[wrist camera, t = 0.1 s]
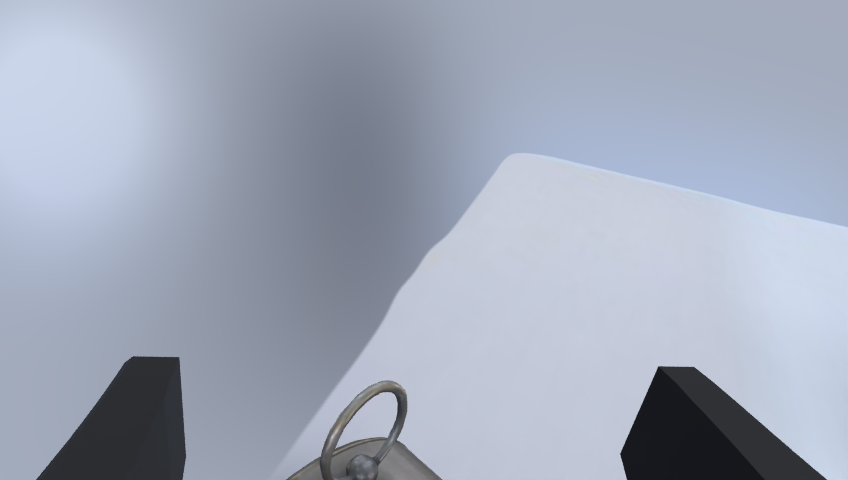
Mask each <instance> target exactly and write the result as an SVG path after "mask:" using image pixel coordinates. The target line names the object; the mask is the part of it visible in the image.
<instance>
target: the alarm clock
mask: <svg viewBox="0 0 848 480" xmlns="http://www.w3.org/2000/svg"><path fill="white" fill-rule="evenodd" d="M382 392H392V393H394V394H395V396H396V398H397V402H398V411H397V417H396V421H395V423H394V426H393V428H392V430H391V432H390V434H389V436H388V438H384V437H378V438H369V439H363V440H358V441H354V442H351V443H348V444H346V445H343V446H341V447H338V448H336V449H335V447H336V445H337V442H338V440H339V438H340V436H341V434H342V432H343V430H344V428H345V427H346V425H347V424H348V423H349V421H350V420H351V419H352V417H353V416H354V415H355V414H356V412H357V411H358V410H359V409H360V408H361V407H362V406H363V405H364V404H365V403H366V402H367V401H369V400H370V399H371V398H373V397H374V396H376V395H378V394H379V393H382ZM406 413H407V395H406V392H405V390H404V389H403V388H402V387H401V386H400V385H399V384H398V383H396V382H393V381H381V382H378V383H376V384H373V385H371V386H369V387H368V388H366V389H365V390H364V391H362V392H361V393H360V394H358V395H357V396H356V397H355V399H354V400H353V401H352V402H351V403H350V404H349V405H348V406H347V407H346V408H345V409H344V410H343V412H342V413H341V414H340V415H339V417H338V419H337V420H336V422H335V423H334V425H333V426H332V428H331V429H330V431H329V434H328V436H327V439H326V441H325V444H324V447H323V450H322V454H321V457H319V458H317V459H315V460H314V461H312V462H311V463H309V464H308V465H306V466H305V467H303V468H302V469H300V470H299V471H297V472H296V473H294V474H293V475H292V476H290V477H289V478H288V479H286V480H442V479H441V478H440V477H439V476H438V475H436V474H435V473H434V472H433V471H432V470H431V469H430V468H428V467H427V466H426V465H425V464H424V463H423V462H422V461H420V460H419V459H418V458H417V457H416V456H415V455H414V454H413V453H412V452H411V451H409V450H408V449H407V447H406V446H405V445H404V444H402V443H401V442H399V441H397V438H398V436H399V434H400V432H401V430H402V428H403V424H404V421H405V417H406Z"/></svg>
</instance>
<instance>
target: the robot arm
mask: <svg viewBox="0 0 848 480" xmlns="http://www.w3.org/2000/svg"><path fill="white" fill-rule="evenodd" d="M620 455H621V459H622V462H623V466H624V470H625V474H626V477H627V480H827V479H825V478H824V477H823V476H822V475H821V474H819V473H818V472H817V471H816V470H815V469H813V468H812V467H811V466H810V465H809V464H808V463H806V462H805V461H804V460H803V459H802V458H801V457H799V456H798V455H797V454H796V453H795V452H793V451H792V450H791V449H790V448H789V447H788V446H786V445H785V444H784V443H783V442H782V441H781V440H780V439H778V438H777V437H776V436H775V435H774V434H773V433H771V432H770V431H769V430H768V429H767V428H766V427H765V426H763V425H762V424H761V423H760V422H759V421H758V420H757V419H755V418H754V417H753V416H752V415H751V414H750V413H748V412H747V411H746V410H745V409H744V408H743V407H742V406H740V405H739V404H738V403H737V402H736V401H735V400H733V399H732V398H731V397H730V396H729V395H728V394H726V393H725V392H724V391H723V390H722V389H721V388H719V387H718V386H717V385H716V384H715V383H713V382H712V381H711V380H710V379H709V378H707V377H706V376H705V375H703V374H702V373H701V372H700V371H698V370H697V369H696V368H695V367H663V366H658V369H657V371H656V373H655V376H654V378H653V380H652V382H651V385H650V387H649V389H648V392H647V394H646V396H645V398H644V401H643V403H642V405H641V408H640V410H639V412H638V414H637V417H636V419H635V421H634V424H633V426H632V428H631V430H630V433H629V435H628V437H627V440H626V442H625V444H624V446H623V449H622V451H621V453H620ZM185 459H186V451H185V436H184V422H183V407H182V391H181V376H180V361H179V357H134V356H133V357H132V358H131V359H129V360H128V361H126V362H125V363H124V365H123V366H122V368H121V369H120V371H119V372H118V374H117V375H116V377H115V378H114V380H113V381H112V382H111V384H110V385H109V387H108V388H107V389H106V391H105V392H104V394H103V395H102V396H101V398H100V399H99V401H98V402H97V403H96V405H95V406H94V407H93V409H92V410H91V411H90V413H89V414H88V415H87V417H86V418H85V419H84V421H83V422H82V423H81V425H80V426H79V427H78V429H77V430H76V431H75V432H74V434H73V435H72V436H71V438H70V439H69V440H68V441H67V443H66V444H65V445H64V447H63V448H62V449H61V450H60V451H59V453H58V454H57V455H56V456H55V457H54V459H53V460H52V461H51V462H50V464H49V465H48V466H47V467H46V469H45V470H44V471H43V472H42V473H41V475H40V476H39V477H38V478H37V479H36V480H182V479H183V472H184V465H185Z"/></svg>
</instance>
